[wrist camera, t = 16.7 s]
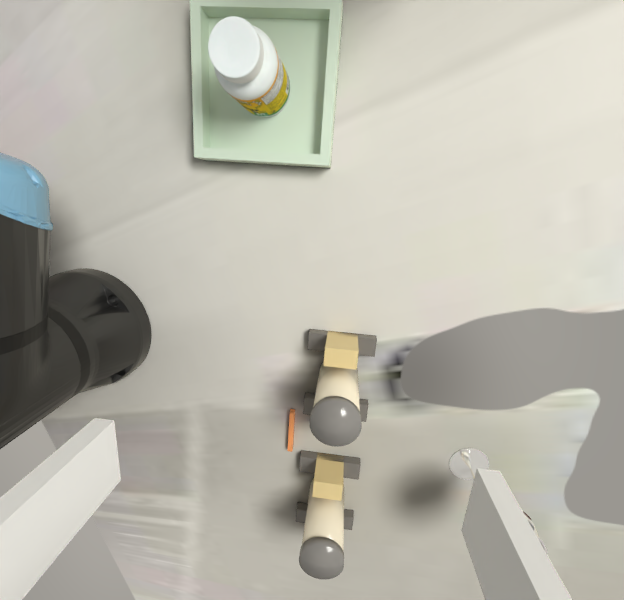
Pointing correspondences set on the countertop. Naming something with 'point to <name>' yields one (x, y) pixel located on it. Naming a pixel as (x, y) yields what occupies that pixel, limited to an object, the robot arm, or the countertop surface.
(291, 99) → the tray
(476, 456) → the wineglass
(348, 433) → the cream cylinder grey cap
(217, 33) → the supplement bottle
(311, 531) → the cylinder
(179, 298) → the countertop surface
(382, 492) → the countertop surface
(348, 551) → the countertop surface
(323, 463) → the fuse block
